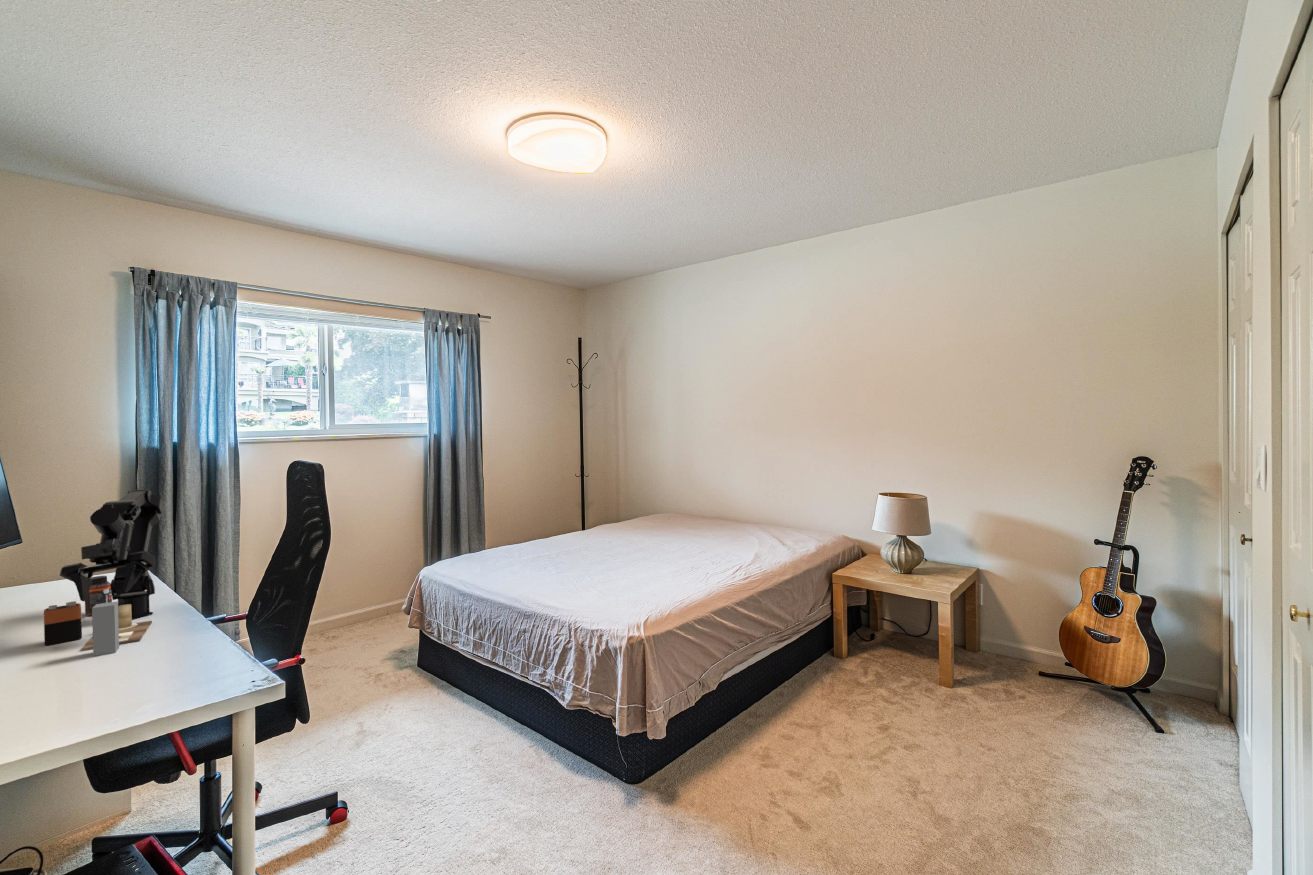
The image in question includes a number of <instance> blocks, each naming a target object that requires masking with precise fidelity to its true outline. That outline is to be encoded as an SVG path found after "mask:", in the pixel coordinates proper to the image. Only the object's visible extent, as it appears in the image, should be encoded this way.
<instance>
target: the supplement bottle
mask: <svg viewBox="0 0 1313 875" xmlns="http://www.w3.org/2000/svg"><path fill="white" fill-rule="evenodd" d="M90 579H92V580H93V581H92V584H91V587H90V590H89V593H88V596H87V598H86V600H85V601H84V612H85V615H86V616H87V617H92V608H93V607H94V606H95V605H96V604H102V603H110V602H113V599H112V593H111V582H109V580H108V576H107V575H98V576H92V577H91V578H90Z"/></svg>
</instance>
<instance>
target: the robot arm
mask: <svg viewBox="0 0 1313 875" xmlns="http://www.w3.org/2000/svg"><path fill="white" fill-rule="evenodd" d="M164 512H165V505H164V502H163V500H162V497H160V496H157V495H156V494H153V493H152V491H151V490H150V489H131V490H128V491H127V494H126V495H124V496H123V497H122V498H120V499H119V500H114V501H106V502H104V504H102V506H101V507H100V508H99V509H97V510H95V511H94V512H92V514H90V516H89V519H90V522H91V524H92V525H93V526H94V528H95V529H96V531H97V532H98V534H101V536H100V541H99V543H96V544H92V545H87V546H82V547H81V548H80V550H81V552H80V554H81V560H86V559H87V560H89V562H90V563H92V564H93V563H95V565H94V564H93V565H89V566H88V565H86V564H84V563H83V562H82V563H81V562H78V563H73V564H68V565H64V566H62V567H61V568H60V572H59V577H62V578H64V579H66V580H68V581H71V582H73V583H74V585H75V587H76V590H77V593H78V596H79V599H80V601H82V602H85V600H86V598H87V596H88V593H89V590H90V587H91V584H92V581H93V580H92V579H90V578H91V577H94V573H99V572H104V571H109V570H114V569H115V573H114V576H113V579H111V581H110V583H111V593H112V601H115V600H117V601H118V606H121V605H127V604H131V611H132V620H135V619H138V618H143V617H145V616H150V615H154V612H153V611H151V609H150V596H151V595H155V594H156V589H155V588H156V587H155V584H154V580H153V579H152V577H151V575H150V572H149V571H150V569H151V568H155V567H156V566H157V557H156V556H154V555H152V554H151V553H149V552H148V550H149V546H150V540H151V533H152V529H153V527H154V526H156V524H158V523H159V522H160V521H161V517H162V515H163V514H164ZM127 522H131V524H132V528H131V525H130V524H128V523H127Z"/></svg>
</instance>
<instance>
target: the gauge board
mask: <svg viewBox="0 0 1313 875" xmlns="http://www.w3.org/2000/svg"><path fill="white" fill-rule="evenodd" d="M152 623H153V620H145V621H140V622H133V619H132V611H131V604H127V605H121V606H118V624H119V646H121V645H126V644H132V643H138V642H140V641H141V640H142V639H143V637H144V636H145V634H146V633H147V631H148V629H149V628H150V626H151V625H152ZM80 649H81V652H83V651H90V650H93V636H91V637H90V639H89V640H88V641H87V642H86V643H85V644H84V645H83V646H82V647H81V648H80Z"/></svg>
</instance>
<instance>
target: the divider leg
mask: <svg viewBox="0 0 1313 875" xmlns="http://www.w3.org/2000/svg"><path fill="white" fill-rule="evenodd" d="M91 618H92V623H91V624H92V637H93V649H92V650H93V651H92V654H93V657H99V656H105V655H111V654H116V653H117V651H119V649H120V645H119V624H118V600H117V601H112V602H110V603H102V604H96V605H95V606H94V607H93V608H92V616H91Z"/></svg>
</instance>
